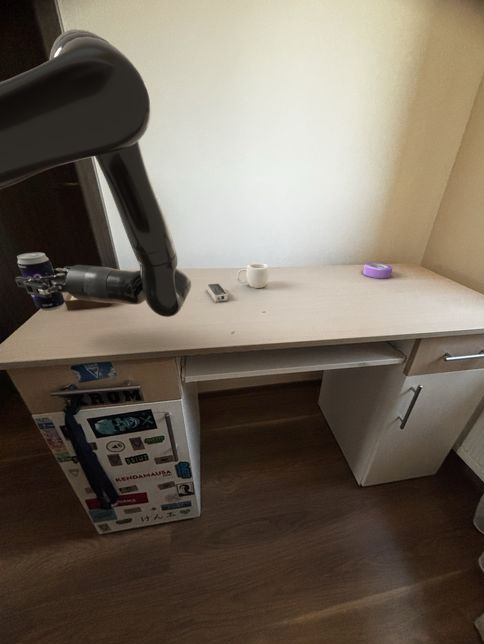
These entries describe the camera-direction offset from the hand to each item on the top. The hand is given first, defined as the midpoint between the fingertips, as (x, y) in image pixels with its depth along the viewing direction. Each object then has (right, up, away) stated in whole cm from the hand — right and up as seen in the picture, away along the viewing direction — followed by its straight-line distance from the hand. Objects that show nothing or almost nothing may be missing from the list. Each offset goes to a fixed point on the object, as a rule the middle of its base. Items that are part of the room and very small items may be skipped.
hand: (30, 277), depth 63 cm
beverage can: (+2, -6, +4) cm, 8 cm away
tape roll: (+103, +17, +62) cm, 122 cm away
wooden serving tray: (-4, +1, +30) cm, 31 cm away
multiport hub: (+36, +3, +36) cm, 51 cm away
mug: (+48, +8, +45) cm, 67 cm away
